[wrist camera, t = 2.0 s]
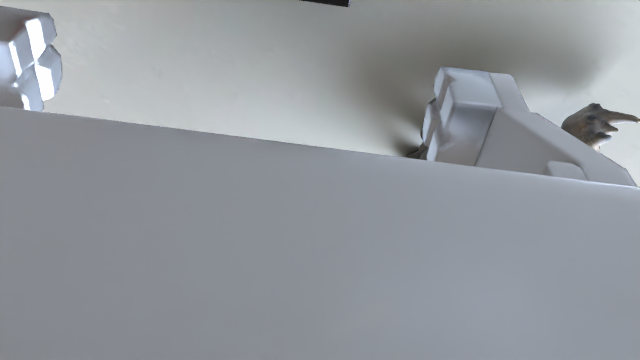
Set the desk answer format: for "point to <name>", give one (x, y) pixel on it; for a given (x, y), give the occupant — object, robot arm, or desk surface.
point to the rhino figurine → (577, 127)
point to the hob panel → (332, 2)
